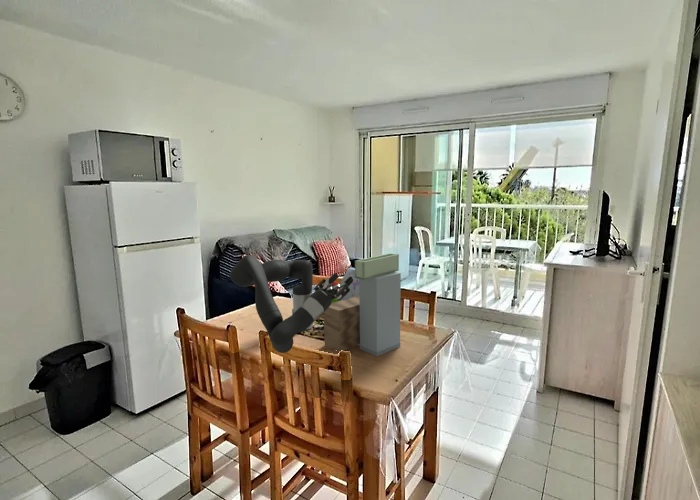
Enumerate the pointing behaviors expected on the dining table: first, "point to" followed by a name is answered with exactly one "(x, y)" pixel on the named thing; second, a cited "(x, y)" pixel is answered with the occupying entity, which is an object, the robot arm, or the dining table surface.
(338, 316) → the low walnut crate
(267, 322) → the robot arm
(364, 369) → the dining table surface
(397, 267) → the sage crate
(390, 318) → the block
